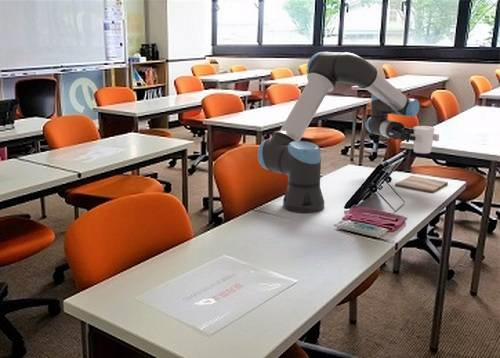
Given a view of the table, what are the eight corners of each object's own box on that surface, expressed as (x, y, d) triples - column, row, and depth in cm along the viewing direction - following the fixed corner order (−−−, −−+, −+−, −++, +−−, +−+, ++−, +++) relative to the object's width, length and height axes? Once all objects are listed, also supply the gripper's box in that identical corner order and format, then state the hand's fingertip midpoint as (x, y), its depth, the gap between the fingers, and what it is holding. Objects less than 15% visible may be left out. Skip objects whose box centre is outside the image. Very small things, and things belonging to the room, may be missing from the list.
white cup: (432, 154, 204) (434, 129, 201) (411, 153, 206) (413, 128, 203) (432, 150, 211) (434, 126, 208) (412, 149, 213) (414, 125, 210)
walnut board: (432, 193, 203) (432, 190, 202) (394, 185, 213) (395, 183, 213) (447, 184, 214) (447, 182, 214) (411, 177, 224) (411, 175, 224)
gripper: (410, 135, 228) (448, 145, 208) (373, 140, 220) (409, 150, 200) (411, 119, 226) (450, 127, 206) (373, 123, 218) (410, 132, 198)
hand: (430, 138), depth 203 cm, fingers closed on white cup, 8 cm apart
